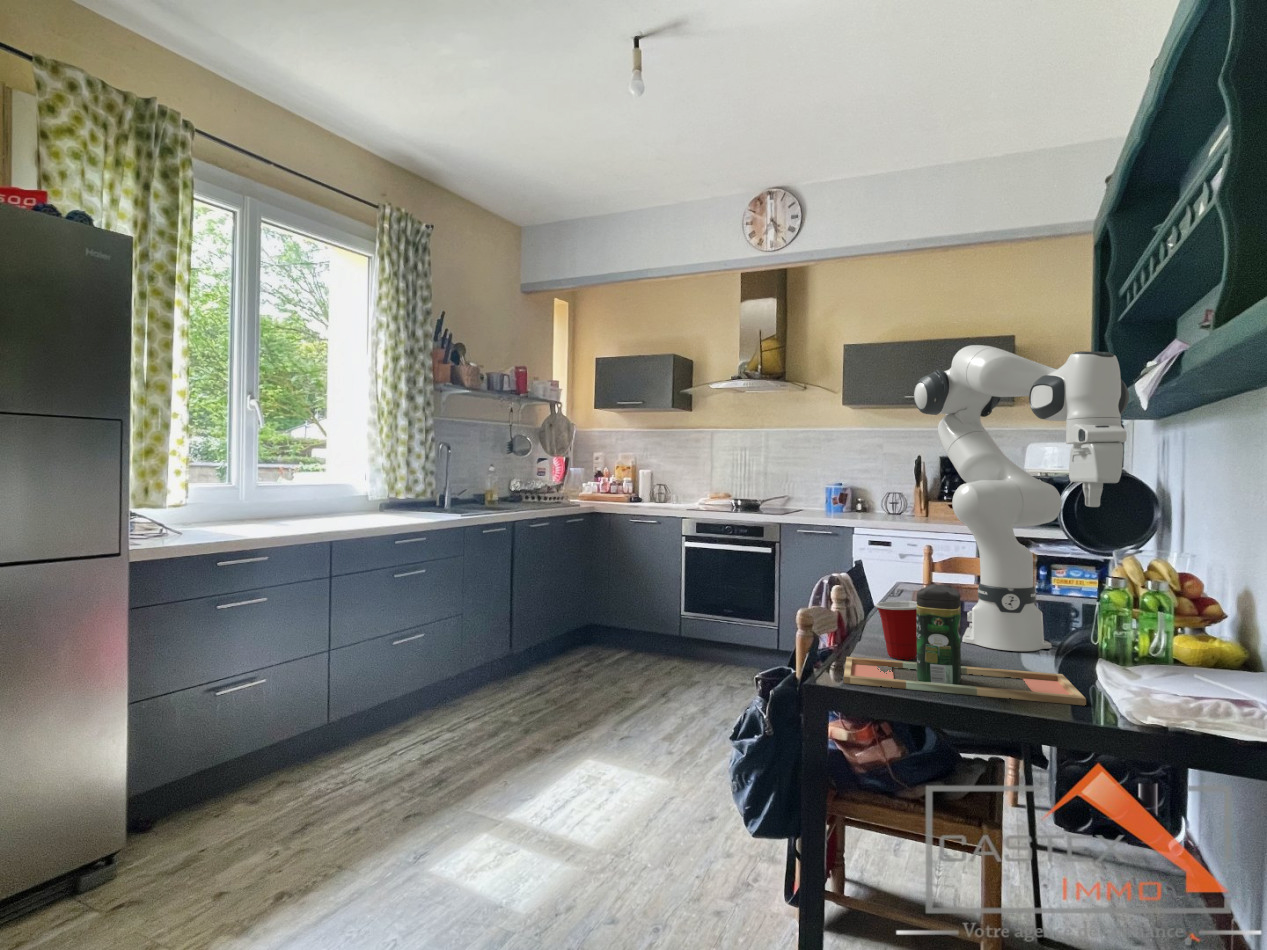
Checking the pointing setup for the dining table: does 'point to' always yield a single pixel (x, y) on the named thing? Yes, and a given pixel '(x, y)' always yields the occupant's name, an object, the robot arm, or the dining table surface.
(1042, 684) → the mats
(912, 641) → the plastic cup
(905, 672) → the dining table surface
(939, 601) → the coffee jar
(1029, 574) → the robot arm
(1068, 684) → the channel
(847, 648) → the dining table surface
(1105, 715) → the dining table surface
